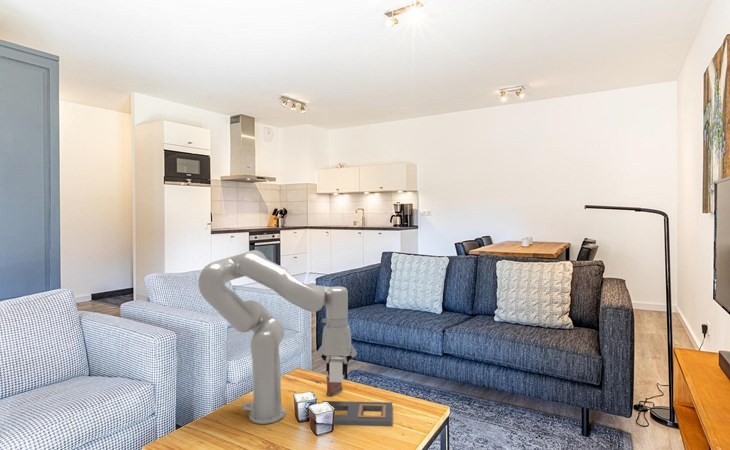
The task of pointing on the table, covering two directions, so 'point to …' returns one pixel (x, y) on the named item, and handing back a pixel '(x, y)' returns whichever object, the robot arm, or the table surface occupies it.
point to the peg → (336, 370)
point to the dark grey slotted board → (357, 410)
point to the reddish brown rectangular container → (333, 387)
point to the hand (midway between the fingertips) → (336, 372)
